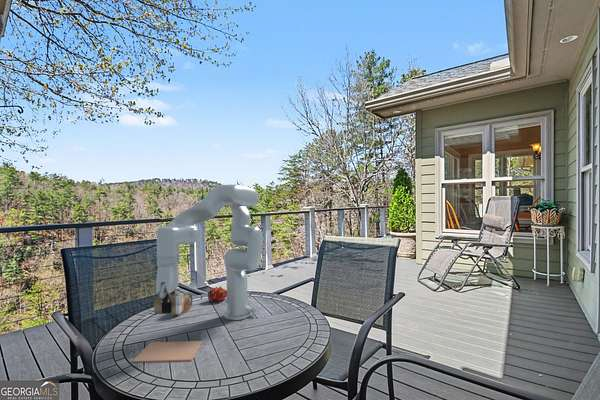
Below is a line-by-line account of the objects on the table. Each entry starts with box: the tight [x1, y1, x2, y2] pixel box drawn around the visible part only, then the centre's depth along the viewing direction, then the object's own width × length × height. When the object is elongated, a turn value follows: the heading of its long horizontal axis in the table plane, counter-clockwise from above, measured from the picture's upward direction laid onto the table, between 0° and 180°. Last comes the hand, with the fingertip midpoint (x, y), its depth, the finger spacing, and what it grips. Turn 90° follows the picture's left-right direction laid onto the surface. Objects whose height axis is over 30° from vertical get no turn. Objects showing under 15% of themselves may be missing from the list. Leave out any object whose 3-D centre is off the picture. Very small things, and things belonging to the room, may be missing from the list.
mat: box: [132, 340, 204, 363], centre depth 116 cm, size 20×14×1 cm
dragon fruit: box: [207, 286, 227, 303], centre depth 172 cm, size 8×8×12 cm
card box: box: [153, 293, 184, 315], centre depth 116 cm, size 4×9×6 cm, turn 92°
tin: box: [172, 292, 193, 317], centre depth 156 cm, size 15×3×8 cm, turn 168°
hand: (169, 310), depth 116 cm, fingers closed on card box, 4 cm apart
